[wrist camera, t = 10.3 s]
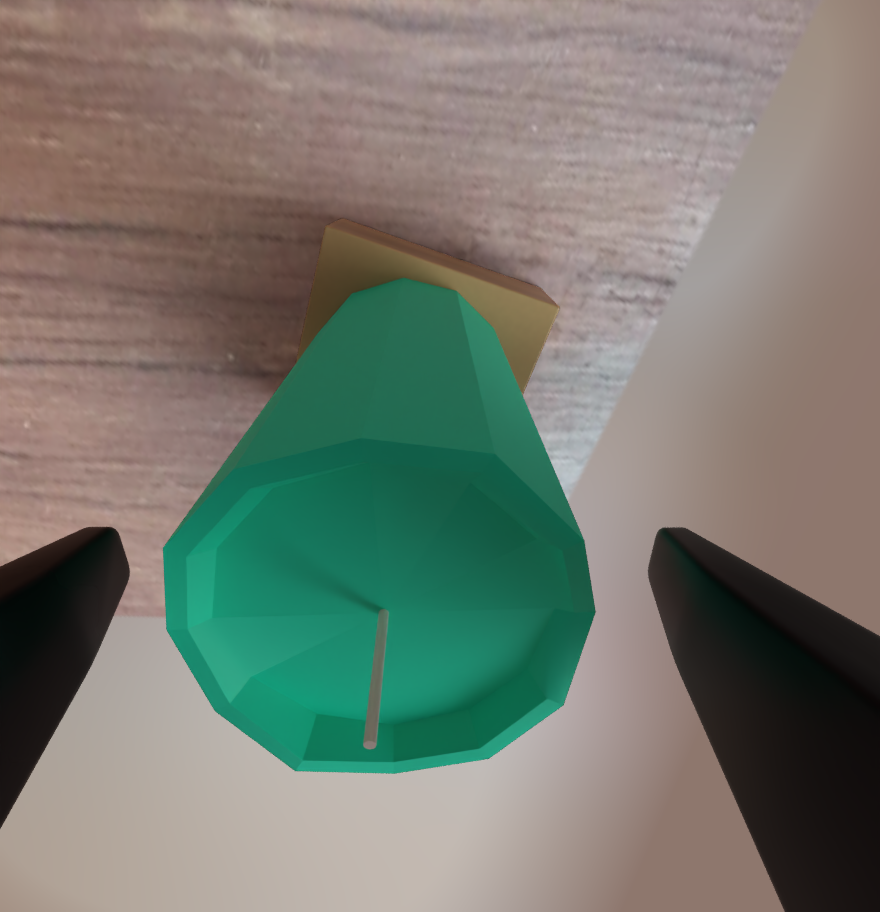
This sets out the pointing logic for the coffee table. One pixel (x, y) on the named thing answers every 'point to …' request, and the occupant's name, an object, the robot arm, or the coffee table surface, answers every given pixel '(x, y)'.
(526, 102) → the coffee table surface
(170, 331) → the coffee table surface
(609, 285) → the coffee table surface
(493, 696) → the candle
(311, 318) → the maple block
